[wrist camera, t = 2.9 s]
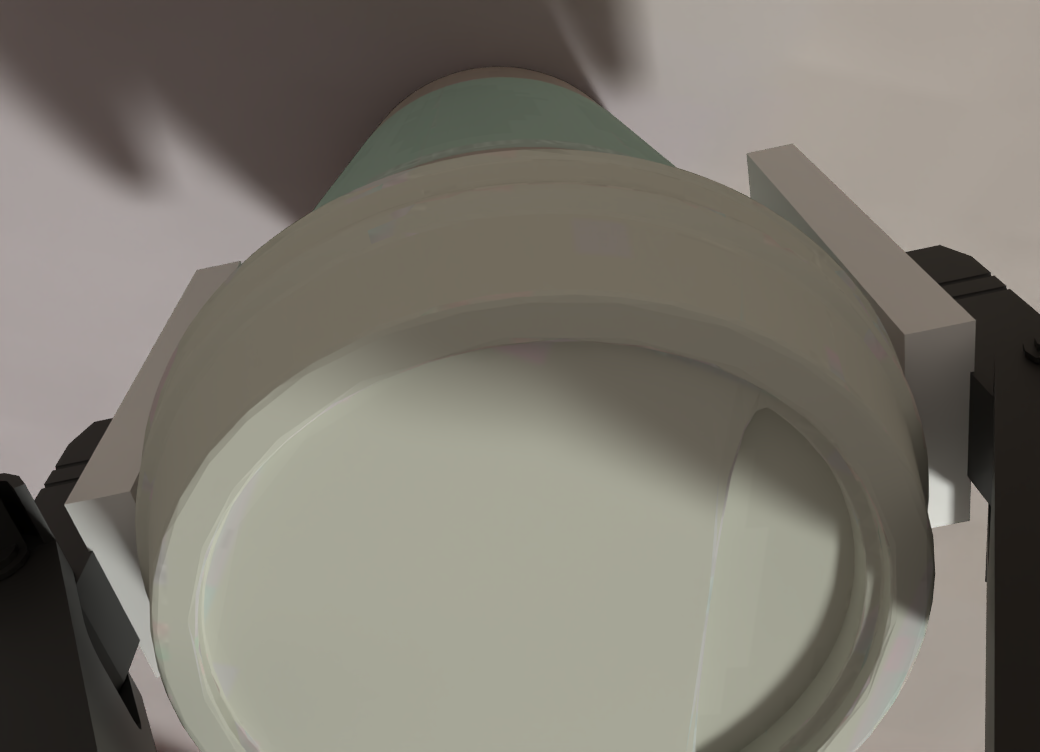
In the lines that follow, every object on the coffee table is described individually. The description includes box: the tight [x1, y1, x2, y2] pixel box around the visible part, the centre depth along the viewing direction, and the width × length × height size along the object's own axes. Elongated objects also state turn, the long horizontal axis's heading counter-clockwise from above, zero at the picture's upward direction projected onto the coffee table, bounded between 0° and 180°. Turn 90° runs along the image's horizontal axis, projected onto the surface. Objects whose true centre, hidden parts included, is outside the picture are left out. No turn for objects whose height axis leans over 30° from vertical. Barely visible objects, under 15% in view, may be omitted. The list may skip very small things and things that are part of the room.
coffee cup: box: [135, 67, 935, 752], centre depth 15 cm, size 8×8×12 cm
